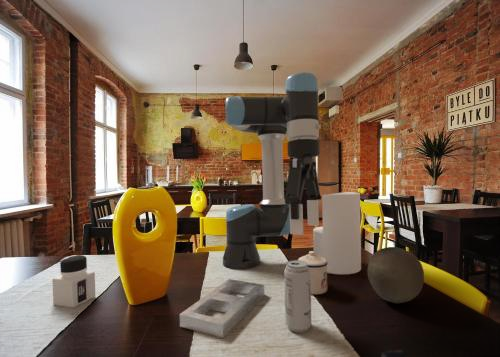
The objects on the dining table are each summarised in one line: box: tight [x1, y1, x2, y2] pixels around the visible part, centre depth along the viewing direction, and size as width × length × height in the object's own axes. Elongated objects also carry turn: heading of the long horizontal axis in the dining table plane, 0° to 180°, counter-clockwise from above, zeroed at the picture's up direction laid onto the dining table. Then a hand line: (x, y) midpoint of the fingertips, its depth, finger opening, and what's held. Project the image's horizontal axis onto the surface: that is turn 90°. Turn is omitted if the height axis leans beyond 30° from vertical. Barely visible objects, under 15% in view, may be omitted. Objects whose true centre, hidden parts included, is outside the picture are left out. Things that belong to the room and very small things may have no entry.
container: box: [52, 254, 96, 309], centre depth 83 cm, size 8×8×13 cm
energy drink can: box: [283, 259, 312, 334], centre depth 66 cm, size 6×6×15 cm
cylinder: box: [312, 191, 362, 275], centre depth 107 cm, size 17×17×28 cm
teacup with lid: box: [297, 250, 328, 295], centre depth 88 cm, size 12×9×12 cm
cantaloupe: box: [366, 246, 425, 304], centre depth 77 cm, size 14×14×15 cm
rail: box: [179, 278, 265, 339], centre depth 76 cm, size 24×12×3 cm, turn 155°
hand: (305, 229), depth 67 cm, fingers open, 13 cm apart
